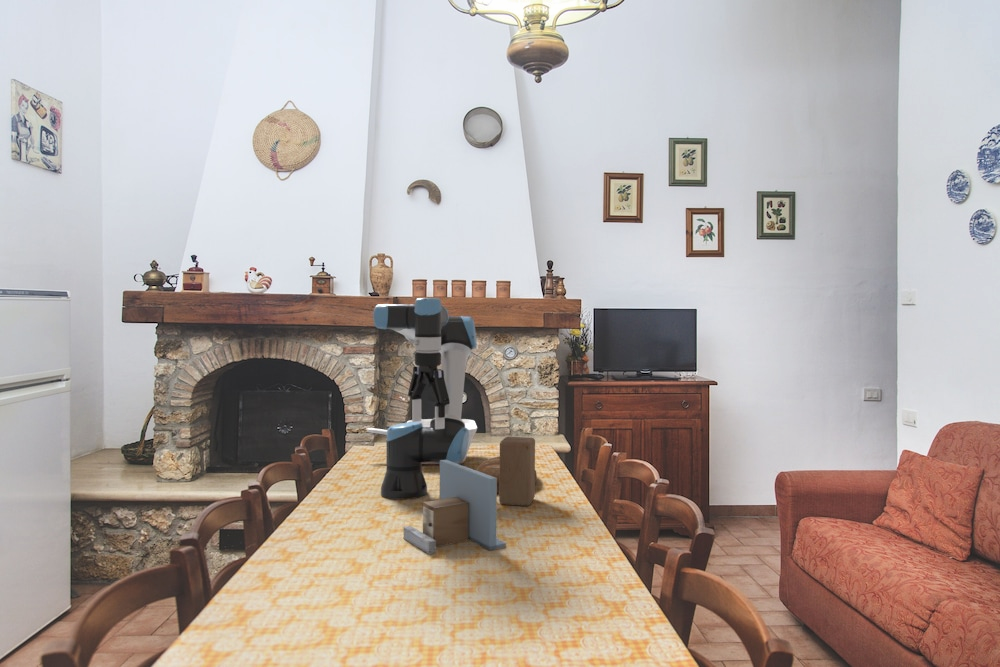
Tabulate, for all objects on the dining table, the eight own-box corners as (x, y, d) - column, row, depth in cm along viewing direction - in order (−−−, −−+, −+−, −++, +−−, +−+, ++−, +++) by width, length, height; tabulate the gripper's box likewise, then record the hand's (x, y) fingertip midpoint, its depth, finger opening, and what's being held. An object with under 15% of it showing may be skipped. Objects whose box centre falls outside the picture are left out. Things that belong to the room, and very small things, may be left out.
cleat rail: (403, 538, 175) (403, 527, 175) (410, 537, 177) (410, 525, 177) (428, 554, 164) (428, 542, 164) (435, 552, 165) (435, 540, 165)
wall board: (439, 523, 188) (439, 460, 188) (454, 521, 191) (455, 458, 191) (489, 550, 167) (490, 479, 166) (506, 547, 170) (506, 476, 169)
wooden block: (530, 507, 206) (530, 442, 206) (498, 505, 208) (499, 441, 208) (534, 498, 216) (535, 437, 215) (504, 496, 218) (505, 435, 217)
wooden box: (419, 540, 174) (419, 502, 174) (455, 533, 180) (456, 496, 180) (431, 548, 169) (431, 508, 168) (468, 540, 175) (468, 502, 174)
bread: (472, 496, 220) (472, 470, 219) (476, 470, 257) (477, 448, 256) (539, 496, 220) (539, 471, 219) (533, 471, 257) (534, 449, 256)
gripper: (396, 349, 199) (396, 419, 201) (438, 355, 179) (438, 433, 180) (418, 348, 204) (418, 417, 205) (462, 354, 183) (461, 430, 185)
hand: (428, 425), depth 193 cm, fingers open, 13 cm apart
